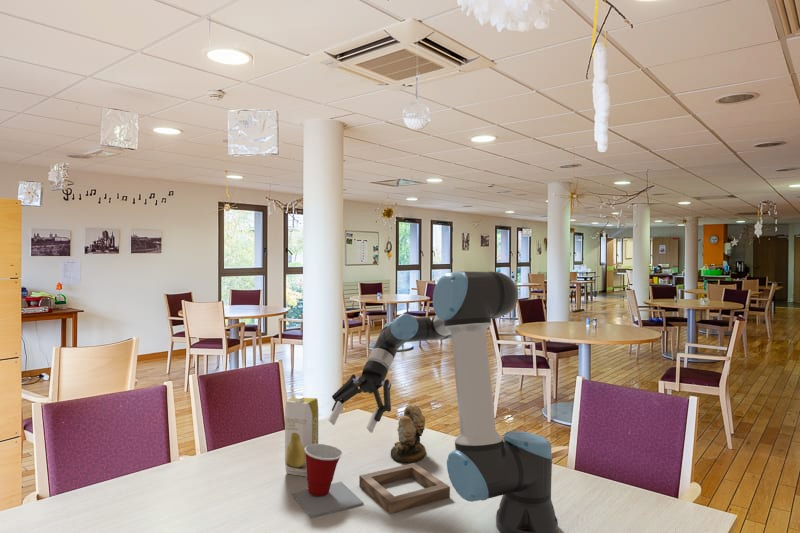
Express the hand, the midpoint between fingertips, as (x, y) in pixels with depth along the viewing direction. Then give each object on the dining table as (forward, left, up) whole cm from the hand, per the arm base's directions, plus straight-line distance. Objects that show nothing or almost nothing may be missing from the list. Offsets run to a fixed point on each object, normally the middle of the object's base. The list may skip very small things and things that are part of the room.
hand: (349, 426), depth 155 cm
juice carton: (+16, +9, -18) cm, 25 cm away
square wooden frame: (-11, -12, -17) cm, 24 cm away
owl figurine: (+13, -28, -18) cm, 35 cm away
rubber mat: (-5, +9, -17) cm, 20 cm away
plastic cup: (-2, +10, -17) cm, 20 cm away
